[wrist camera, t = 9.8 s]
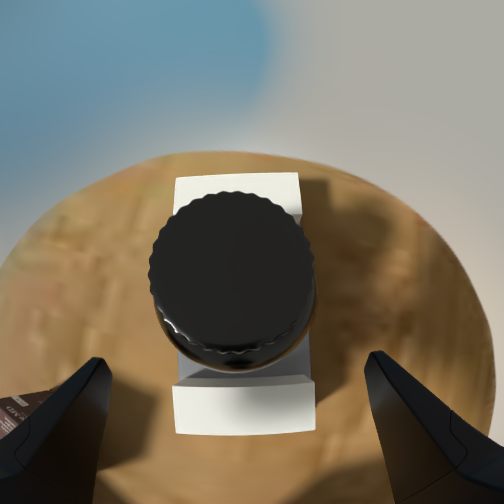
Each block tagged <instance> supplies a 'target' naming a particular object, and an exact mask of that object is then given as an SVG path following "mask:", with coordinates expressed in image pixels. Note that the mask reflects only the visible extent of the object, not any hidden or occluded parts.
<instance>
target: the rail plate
mask: <svg viewBox="0 0 504 504" xmlns="http://www.w3.org/2000/svg"><path fill="white" fill-rule="evenodd" d="M221 191H227V192H234V191H241V192H243V193H254V194H256V195H258V196H259V197H265V198H268V199H269V200H271V201H272V202H273V203H274V204H278V205H280V206H282V208H283V209H284V210H285V212H286V213H288V214H290V215H292V216H293V217H294V219H295V222H296V223H297V224H298V225H299V226H301V224H300V219H301V217H302V214H303V213H302V204H301V196H300V188H299V180H298V173H248V174H225V175H207V176H192V177H180V178H176V184H175V196H174V210H173V215H175V214H176V213H177V211H178V210H179V209H180V207H183V206H186V205H188V204H189V203H190V202H191V201H192V200H193V199H197V198H202V197H204V196H205V195H207V194H217V193H219V192H221ZM178 373H179V382H178V383H176V384H175V385H173V386H172V389H173V404H174V416H175V427H176V433H181V434H197V435H262V434H279V433H290V432H300V431H309V430H315V382H314V381H312V380H311V364H310V341H309V331H308V333H307V334H306V336H305V337H304V339H303V340H302V341H301V343H300V344H299V345H298V346H297V347H296V348H295V349H294V350H293V351H292V352H291V353H290V354H289V355H287V356H286V357H285V358H283V359H282V360H280V361H279V362H277V363H275V364H273V365H271V366H269V367H266V368H264V369H261V370H257V371H253V372H247V373H224V372H218V371H214V370H211V369H208V368H205V367H203V366H201V365H199V364H196V363H195V362H193V361H191V360H190V359H188V358H187V357H186V356H184V355H183V354H182V353H181V352H180V351H179V350H178Z"/></svg>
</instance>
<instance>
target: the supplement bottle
mask: <svg viewBox="0 0 504 504" xmlns="http://www.w3.org/2000/svg"><path fill="white" fill-rule="evenodd" d="M313 261H314V256H313V255H312V253H311V251H310V242H309V241H308V239H307V238H306V237H305V236H304V232H303V228H302V227H301V226H299V225H298V224H297V223H296V222H295V219H294V217H293V216H292V215H290V214H288V213H286V212H285V210H284V209H283V208H282V206H280V205H278V204H274V203H273V202H272V201H271V200H269V199H268V198H265V197H259V196H258V195H256V194H254V193H243V192H241V191H234V192H227V191H221V192H219V193H217V194H207V195H205V196H204V197H202V198H197V199H193V200H192V201H191V202H190V203H189V204H188V205H186V206H183V207H180V209H179V210H178V211H177V213H176V214H175V215H173V216H171V217H170V218H169V219H168V221H167V224H166V225H165V226H164V227H163V228H162V229H161V230H160V232H159V236H158V239H157V240H156V241H155V242H154V244H153V253H152V255H151V256H150V258H149V264H150V270H149V272H148V277H149V280H150V282H151V284H150V292H151V294H152V295H153V300H154V307H155V311H156V315H157V318H158V321H159V323H160V325H161V328H162V329H163V331H164V333H165V335H166V336H167V338H168V339H169V340H170V342H171V343H172V344H173V345H174V346H175V348H176V349H177V350H179V351H180V352H181V353H182V354H183V355H184V356H186V357H187V358H188V359H190V360H191V361H193V362H195V363H196V364H199V365H201V366H203V367H205V368H208V369H211V370H214V371H218V372H224V373H247V372H253V371H257V370H261V369H264V368H266V367H269V366H271V365H273V364H275V363H277V362H279V361H280V360H282V359H283V358H285V357H286V356H287V355H289V354H290V353H291V352H292V351H293V350H294V349H295V348H296V347H297V346H298V345H299V344H300V343H301V341H302V340H303V339H304V337H305V336H306V334H307V333H308V331H309V329H310V327H311V325H312V322H313V320H314V317H315V314H316V310H317V305H318V296H319V287H318V278H317V273H316V269H315V266H314V263H313Z"/></svg>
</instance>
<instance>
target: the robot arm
mask: <svg viewBox="0 0 504 504" xmlns="http://www.w3.org/2000/svg"><path fill="white" fill-rule="evenodd" d="M364 374H365V379H366V384H367V390H368V395H369V401H370V407H371V411H372V415H373V419H374V422H375V426H376V429H377V433H378V436H379V440H380V444H381V447H382V451H383V455H384V459H385V463H386V467H387V471H388V475H389V479H390V483H391V487H392V492H393V496H394V501H395V504H504V447H503V446H500V445H499V444H497V443H496V442H494V441H493V440H491V439H490V438H488V437H487V436H485V435H484V434H482V433H481V432H480V431H478V430H477V429H475V428H474V427H472V426H471V425H470V424H468V423H467V422H466V421H465V420H463V419H462V418H461V417H460V416H459V415H457V414H456V413H455V412H454V411H453V410H451V409H450V408H449V407H448V406H447V405H446V404H444V403H443V402H442V401H441V400H440V399H439V398H438V397H436V396H435V395H434V394H433V393H432V392H431V391H429V390H428V389H427V388H426V387H425V386H424V385H422V384H421V383H420V382H419V381H418V380H417V379H415V378H414V377H413V376H412V375H411V374H410V373H408V372H407V371H406V370H405V369H404V368H402V367H401V366H400V365H399V364H398V363H397V362H395V361H394V360H393V359H392V358H391V357H390V356H388V355H387V354H386V353H385V352H384V351H381V350H379V351H373V352H371V353H370V354H369V357H368V359H367V362H366V365H365V368H364ZM111 384H112V372H111V370H110V369H109V367H108V365H107V363H106V361H105V360H104V359H103V358H100V357H92V358H91V359H90V360H89V361H88V362H86V363H85V364H84V365H83V366H82V367H81V368H80V369H79V370H77V371H76V372H75V373H74V374H73V375H72V376H71V377H70V378H69V379H68V380H66V381H65V382H64V383H63V384H62V385H61V386H60V387H59V388H58V389H57V390H55V391H54V392H53V393H52V394H51V395H50V396H49V397H48V398H47V399H46V400H45V401H44V402H42V403H41V404H40V405H39V406H38V407H37V408H36V409H35V410H34V411H33V412H32V413H31V414H30V415H28V416H27V417H26V418H25V419H24V420H23V421H22V422H21V423H20V424H19V425H18V426H16V427H15V428H14V429H13V430H12V431H10V432H9V433H8V434H7V435H5V436H4V437H3V438H2V439H0V504H92V502H93V494H94V486H95V479H96V473H97V467H98V461H99V455H100V450H101V444H102V439H103V434H104V430H105V425H106V420H107V415H108V408H109V400H110V392H111Z"/></svg>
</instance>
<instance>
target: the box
mask: <svg viewBox="0 0 504 504" xmlns="http://www.w3.org/2000/svg"><path fill="white" fill-rule="evenodd" d="M51 394H52V393H51V392H50V391H47V390H46V391H41V392H36V393H30V394H24V395H19V396H13V397H6V398H1V399H0V439H2V438H3V437H4V436H5V435H7V434H8V433H9V432H10V431H12V430H13V429H14V428H15V427H16V426H18V425H19V424H20V423H21V422H22V421H23V420H24V419H25V418H26V417H27V416H28V415H30V414H31V413H32V412H33V411H34V410H35V409H36V408H37V407H38V406H39V405H40V404H41V403H42V402H44V401H45V400H46V399H47V398H48V397H49V396H50V395H51Z"/></svg>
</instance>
